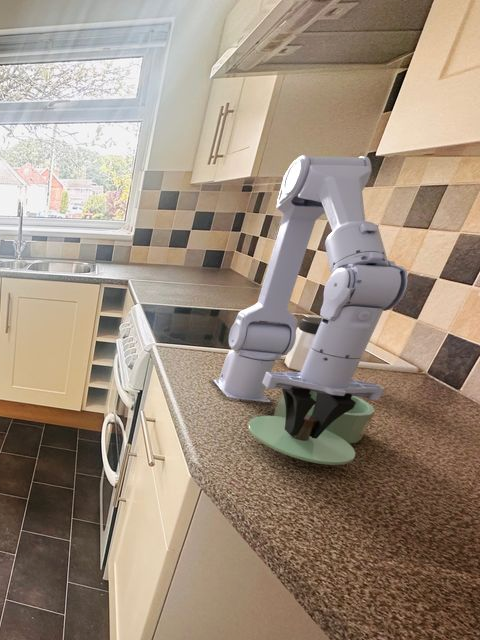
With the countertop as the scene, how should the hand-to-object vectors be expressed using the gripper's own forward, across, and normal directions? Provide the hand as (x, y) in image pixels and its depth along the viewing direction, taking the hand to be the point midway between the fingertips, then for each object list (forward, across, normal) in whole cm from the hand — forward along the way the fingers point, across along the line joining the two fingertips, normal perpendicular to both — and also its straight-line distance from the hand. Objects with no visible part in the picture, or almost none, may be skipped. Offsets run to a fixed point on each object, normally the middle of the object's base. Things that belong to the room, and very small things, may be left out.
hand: (300, 433), depth 65 cm
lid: (+1, 0, 0) cm, 1 cm away
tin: (+4, +9, +12) cm, 15 cm away
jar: (+4, +23, +46) cm, 52 cm away
